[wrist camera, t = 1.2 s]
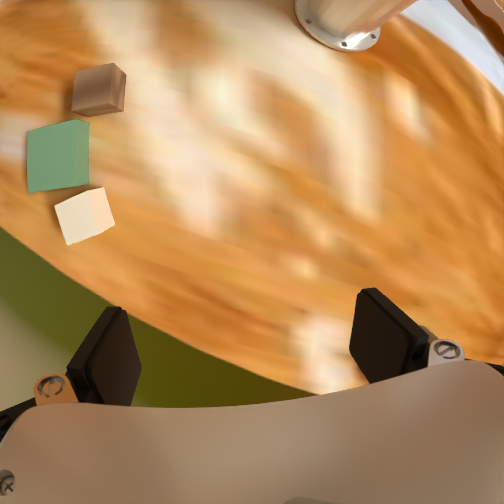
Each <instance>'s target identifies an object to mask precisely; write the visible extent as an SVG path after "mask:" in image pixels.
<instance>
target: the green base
mask: <svg viewBox="0 0 504 504" xmlns="http://www.w3.org/2000/svg"><path fill="white" fill-rule="evenodd" d="M87 184H89V123H88V122H84V121H81V120H77V119H75V120H71V121H66V122H62V123H58V124H54V125H50V126H46V127H42V128H39V129H35V130H32V131H28V134H27V186H28V193H34V192H40V191H46V190H53V189H60V188H68V187H75V186H81V185H87Z"/></svg>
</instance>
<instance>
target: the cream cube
mask: <svg viewBox="0 0 504 504" xmlns="http://www.w3.org/2000/svg"><path fill="white" fill-rule="evenodd" d="M54 207H55V210H56V213H57V217H58V220H59V223H60V226H61V229H62V232H63V235H64V238H65V241H66V244H67V246H68V245H71V244H73V243H76V242H79V241H81V240H84V239H86V238H89V237H92V236H95V235H97V234H100V233H102V232H103V231H105V230H107V229H108V228H110V227H112V226H113V225H115V223H114V220H113V217H112V214H111V210H110V207H109V204H108V201H107V197H106V194H105V190H104V187H102V188H97V189H93V190H88V191H85V192H83V193H81V194H79V195H76V196H74V197H72V198H70V199H68V200H65V201H63V202H61V203H59V204H57V205H55V206H54Z"/></svg>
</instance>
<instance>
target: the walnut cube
mask: <svg viewBox="0 0 504 504" xmlns="http://www.w3.org/2000/svg"><path fill="white" fill-rule="evenodd" d="M125 84H126V74H125V73H124V72H123V71H122V70H120V69H119V68H118V67H117V66H116V65H115V64H114V63H110V64H105V65H101V66H96V67H92V68H88V69H84V70H80V71H77V72H75V78H74V86H73V95H72V106H71V111H72V112H76V113H79V114H82V115H85V116H88V117H91V116H96V115H102V114H108V113H114V112H121V111H124V96H125Z"/></svg>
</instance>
